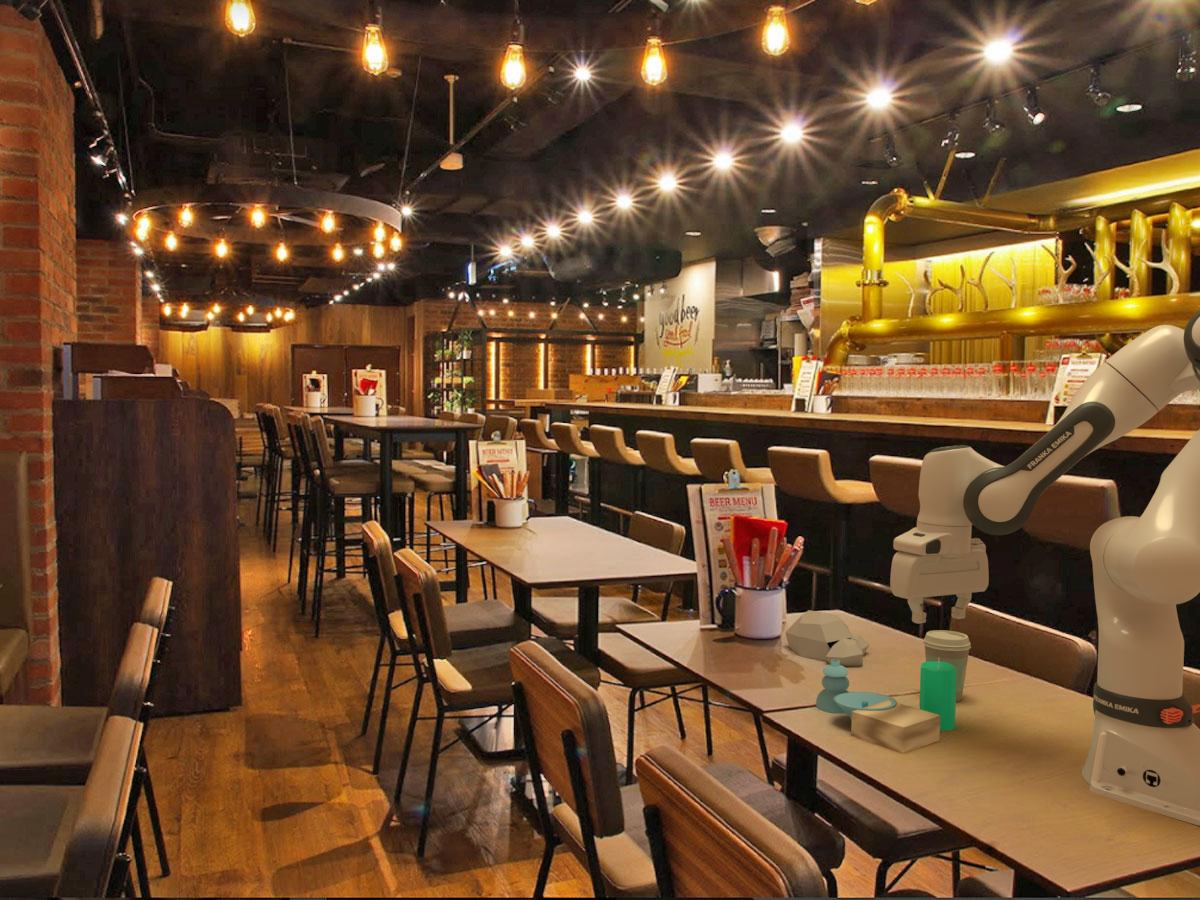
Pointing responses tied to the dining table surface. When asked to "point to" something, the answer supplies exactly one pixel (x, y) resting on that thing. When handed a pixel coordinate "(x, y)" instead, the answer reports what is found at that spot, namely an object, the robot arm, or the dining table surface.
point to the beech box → (896, 726)
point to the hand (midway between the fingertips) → (938, 620)
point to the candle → (939, 691)
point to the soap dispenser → (845, 693)
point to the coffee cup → (949, 653)
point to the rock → (826, 639)
